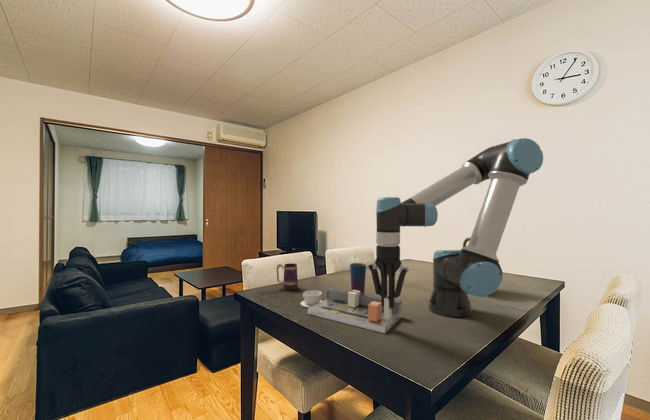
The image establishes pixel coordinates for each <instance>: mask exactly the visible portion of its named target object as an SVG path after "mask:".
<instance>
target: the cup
mask: <svg viewBox="0 0 650 420" xmlns="http://www.w3.org/2000/svg"><path fill="white" fill-rule="evenodd" d="M349 267H350V268H349V271H350V287H351V288H350V289H351V290H350V291H352V290H357V291H360V293H363V294H365V290H366V289H365V286H366V270H367V264H366V263H364V262H363V263H362V262H352V263H349Z"/></svg>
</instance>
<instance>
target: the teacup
mask: <svg viewBox="0 0 650 420" xmlns="http://www.w3.org/2000/svg"><path fill="white" fill-rule="evenodd" d="M322 297H323V293H322V291H320V290H314V289H313V290H306V291H304V292H303V293H302V298H303V299H304V300H303V301H301V302H300V306H302V307H305V308H310V307H312V306H314V305H316V304H318V303H320V302H322V301H323V300H322Z"/></svg>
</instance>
